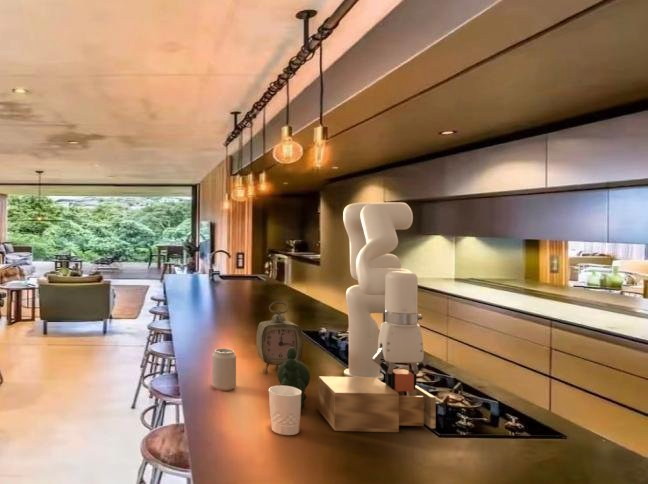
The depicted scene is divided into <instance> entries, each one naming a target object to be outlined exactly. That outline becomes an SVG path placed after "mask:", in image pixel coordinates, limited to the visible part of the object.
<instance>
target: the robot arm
mask: <svg viewBox="0 0 648 484" xmlns="http://www.w3.org/2000/svg"><path fill="white" fill-rule="evenodd" d="M342 217H343V219H342V220H343V225H344V228H345V231H346V234H347V237H348V240H349V271H350V275H351V278H352V279H354V280H356V281H357V284H355V285H351V286H349V287H348V288H347V289H346V292H345V302H346V308H347V318H348V319H347V320H348V368H346V369H344V370H343V375H344V377H376V378H377V379H379V380H380V381H383V380H385V381H384V383H386V385H387V386H389V387H390V388H391V389H395V375H394V374H393V369H395V365H396V364H407V369H408V371H409V372H411V373H412V374H414V390H415V386H416V385H417V380H418V379H417V375H418V374H419V373H420V372H421V370H422V369H424V367H425V366H427V365H428V364H430V362H431V360H430V358H429V357H428V355H427V354H426V353H425V352H424V340H423V339H424V338H423V333H422V329H421V325H420V324H419V321H420V320H423V315H422V314H421V313H420V314H419V312H418V290H419V289H418V287H419V285H418V284H419V283H418V276H417V274H416V273H415V272H412V271H411V270H409V269H406V268H402V263H401V260H400V258H399V257H398V256H397V255H395V254H393V253H391V252H393V251H394V250H395V249H397V247H398V244H399V239H398V235H397V232H396V230H408V229H410V228H411V226H412V225H413V221H414V220H413V219H414V216H413V210H412V209H411V207H410V206H409V204H407V203H406V202H400V201H399V202H398V201H397V202H395V201H394V202H393V201H392V202H391V201H389V202H385V201H384V202H354V203H350V204H348V205H346V206H345V207H344V209H343V216H342ZM372 314H384V321H382V322H381V324H380V328H379V324H378V322H377V321H376V320H375V318H373V316H372ZM382 359H383V360H384V362H383V361H382ZM381 370H383V371H384V372H385V373H384V374H383V373H382V372H381ZM384 375H385V376H384Z"/></svg>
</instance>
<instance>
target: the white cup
mask: <svg viewBox="0 0 648 484" xmlns="http://www.w3.org/2000/svg"><path fill="white" fill-rule="evenodd" d="M268 398H269V399H268V400H269V401H268V402H269V417H270V428H271V431H273V432H274V433H275V434H278V435H282V436H294V435H297V434H298V433H299V432H300V421H301V411H302V409H301V390H299V389H297V388H295V387H291V386H282V385H281V384H280V385H273V386H270V387H269V388H268Z"/></svg>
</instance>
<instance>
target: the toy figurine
mask: <svg viewBox="0 0 648 484" xmlns="http://www.w3.org/2000/svg"><path fill="white" fill-rule="evenodd" d="M287 358H288V360H286V361H285V362H283V363H282V364H281V365H279V369H278V370H277V380H278V382H279V384H280V385H282V386H291V387H295V388H297V389H299V390H301V410H302V409H303V408H305V406H306V403H305V401H307V395H306V393H305V392H306V388H307V387H308V386H309V384H310V381H311V373H310V370H309V367H308V366H307V365H306V364H305V363H303V362H302V361H301V360H300V361H298V360H294V359H295V358H296V350H295V348H293V347H290V348H289V349H288V350H287Z"/></svg>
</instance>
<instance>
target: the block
mask: <svg viewBox="0 0 648 484" xmlns="http://www.w3.org/2000/svg"><path fill="white" fill-rule="evenodd" d="M393 374H394V375H395V389H394V390H395V391H404V392H407V391H410V392H414V374H412V373H411V372H409V370H407V369H405V368H394V369H393Z"/></svg>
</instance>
